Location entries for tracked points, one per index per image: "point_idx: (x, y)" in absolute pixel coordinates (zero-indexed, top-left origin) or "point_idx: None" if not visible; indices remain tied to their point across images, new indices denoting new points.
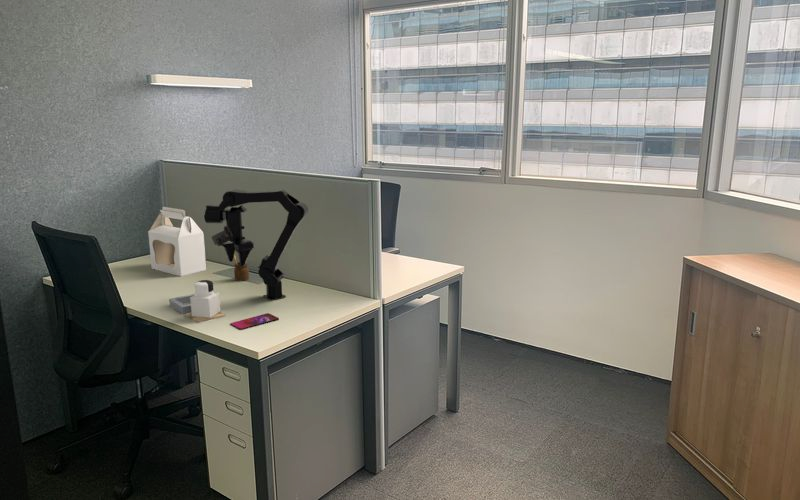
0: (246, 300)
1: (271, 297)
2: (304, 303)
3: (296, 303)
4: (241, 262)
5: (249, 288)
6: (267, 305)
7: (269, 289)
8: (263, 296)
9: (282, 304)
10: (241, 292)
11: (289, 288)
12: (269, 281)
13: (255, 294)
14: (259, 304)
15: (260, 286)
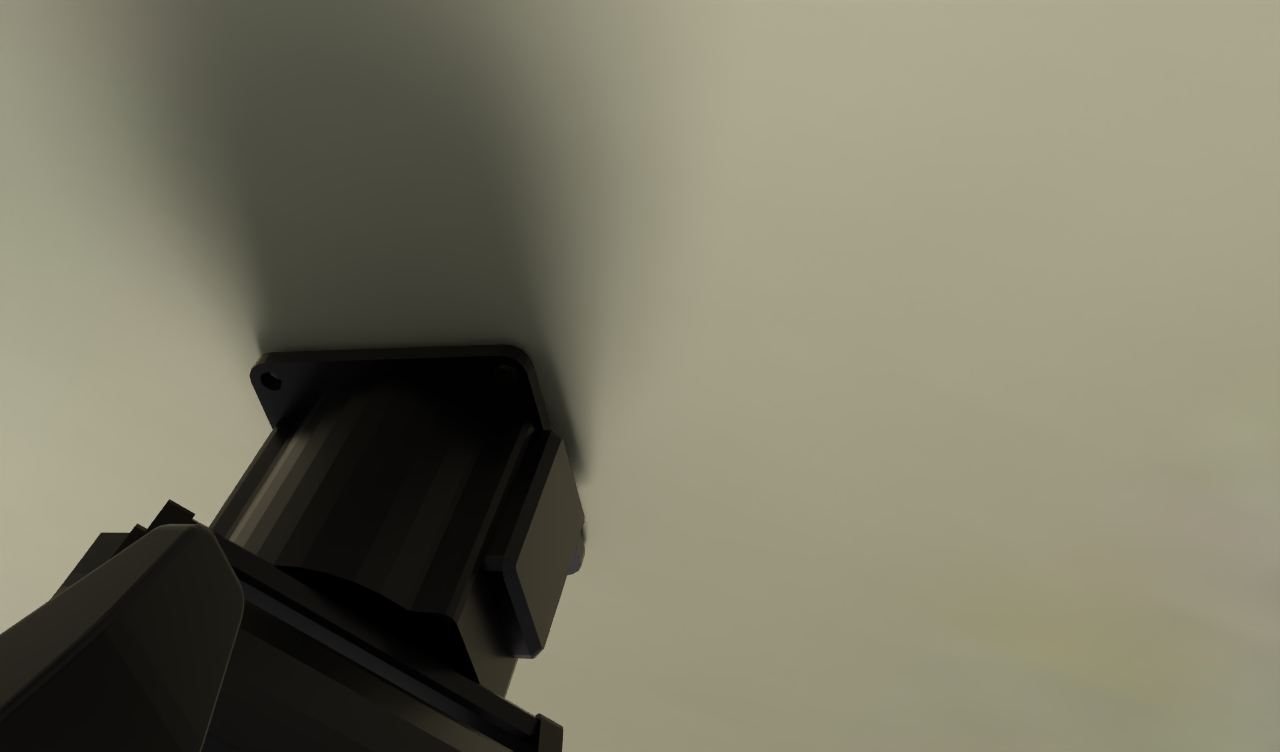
0: (447, 22)
1: (316, 401)
2: (20, 583)
3: (40, 526)
4: (12, 660)
5: (1222, 373)
6: (33, 210)
7: (275, 485)
8: (499, 346)
9: (36, 390)
10: (1070, 146)
11: (751, 745)
12: (57, 592)
13: (746, 303)
14: (119, 128)
15: (1180, 551)
